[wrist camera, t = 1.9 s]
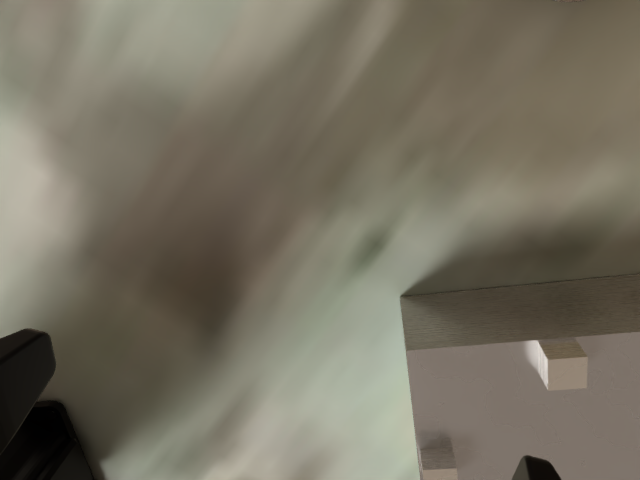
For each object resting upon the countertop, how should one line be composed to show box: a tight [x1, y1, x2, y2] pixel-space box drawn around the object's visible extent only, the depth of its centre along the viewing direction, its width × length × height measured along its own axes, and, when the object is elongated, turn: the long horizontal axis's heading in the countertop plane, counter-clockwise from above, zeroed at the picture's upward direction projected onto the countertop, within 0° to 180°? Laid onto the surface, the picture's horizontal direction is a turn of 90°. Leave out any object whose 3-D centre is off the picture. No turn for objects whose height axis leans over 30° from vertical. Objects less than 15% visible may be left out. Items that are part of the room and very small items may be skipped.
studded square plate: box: [400, 274, 640, 480], centre depth 20 cm, size 13×10×5 cm
